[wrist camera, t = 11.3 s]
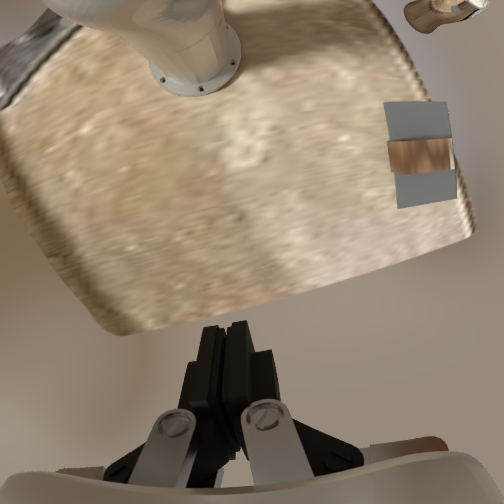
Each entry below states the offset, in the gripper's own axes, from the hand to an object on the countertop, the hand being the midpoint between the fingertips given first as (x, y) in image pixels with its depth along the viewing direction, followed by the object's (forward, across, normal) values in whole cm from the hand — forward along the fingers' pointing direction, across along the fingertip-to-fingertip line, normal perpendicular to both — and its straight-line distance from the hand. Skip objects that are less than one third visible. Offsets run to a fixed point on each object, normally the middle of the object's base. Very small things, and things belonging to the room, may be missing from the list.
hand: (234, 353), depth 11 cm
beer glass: (+32, -34, -26) cm, 54 cm away
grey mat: (+32, -29, -3) cm, 43 cm away
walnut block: (+30, -22, -3) cm, 37 cm away
